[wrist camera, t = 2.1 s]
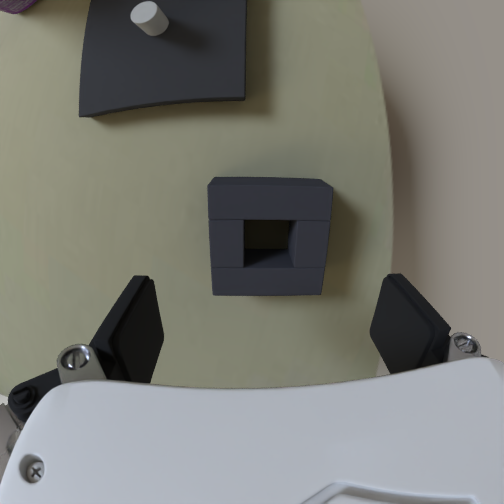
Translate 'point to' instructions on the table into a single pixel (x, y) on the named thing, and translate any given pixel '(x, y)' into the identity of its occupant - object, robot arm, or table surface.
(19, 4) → the beverage can
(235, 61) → the black base pad
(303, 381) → the table surface
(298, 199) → the dark grey socket block
